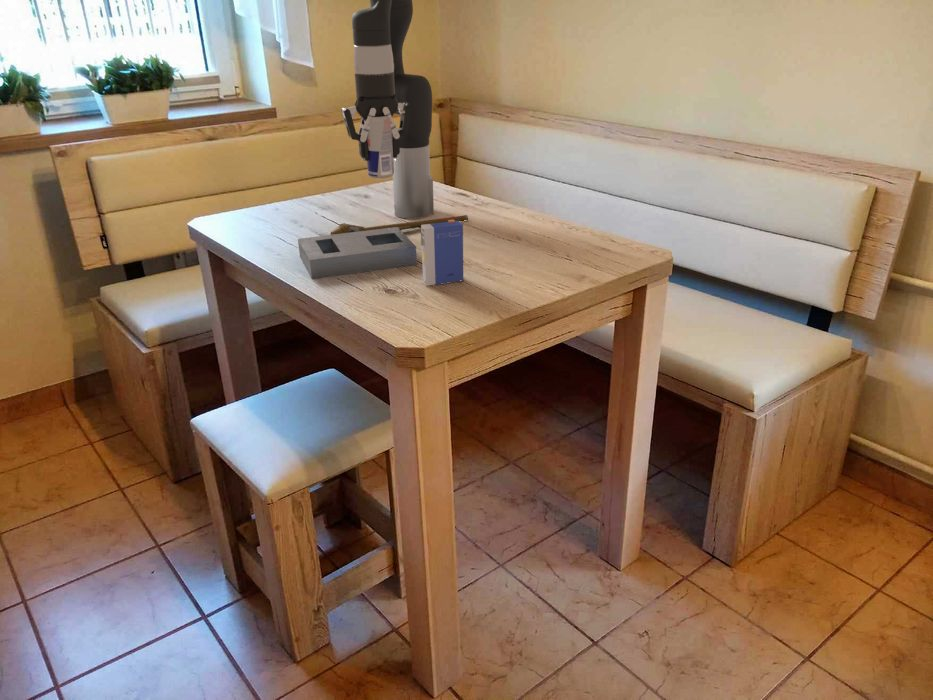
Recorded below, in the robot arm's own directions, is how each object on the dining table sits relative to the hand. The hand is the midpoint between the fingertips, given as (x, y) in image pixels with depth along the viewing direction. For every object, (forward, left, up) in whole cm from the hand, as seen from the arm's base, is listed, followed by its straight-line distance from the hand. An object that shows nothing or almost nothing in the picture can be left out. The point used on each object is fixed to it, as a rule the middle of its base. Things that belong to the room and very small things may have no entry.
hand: (380, 158), depth 151 cm
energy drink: (0, 0, -4) cm, 4 cm away
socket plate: (+6, 0, -21) cm, 22 cm away
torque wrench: (-8, -15, -22) cm, 28 cm away
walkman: (-7, +18, -21) cm, 29 cm away
